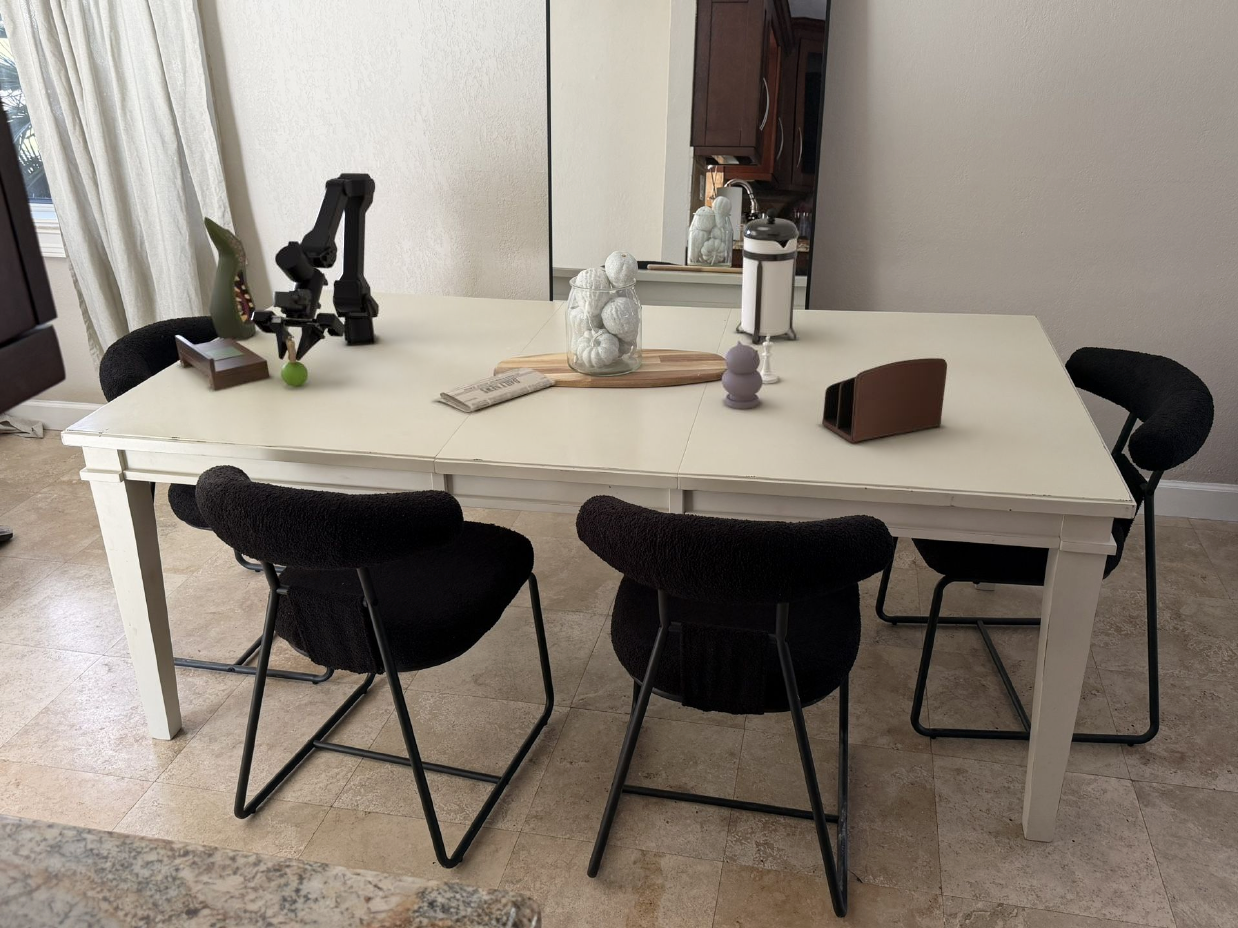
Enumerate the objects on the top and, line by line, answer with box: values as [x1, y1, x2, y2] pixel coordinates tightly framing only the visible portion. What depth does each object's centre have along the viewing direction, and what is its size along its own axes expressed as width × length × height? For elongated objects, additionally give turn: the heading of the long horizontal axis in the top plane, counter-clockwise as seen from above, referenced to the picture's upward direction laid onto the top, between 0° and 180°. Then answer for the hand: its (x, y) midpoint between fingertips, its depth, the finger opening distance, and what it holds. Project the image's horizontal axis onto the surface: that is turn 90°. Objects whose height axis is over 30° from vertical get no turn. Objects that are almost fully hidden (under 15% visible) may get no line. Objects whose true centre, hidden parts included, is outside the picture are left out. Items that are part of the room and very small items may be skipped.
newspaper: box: [435, 366, 556, 413], centre depth 209 cm, size 23×12×2 cm, turn 135°
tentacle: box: [203, 216, 257, 340], centre depth 243 cm, size 9×12×30 cm
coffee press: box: [735, 208, 800, 345], centre depth 237 cm, size 17×16×30 cm
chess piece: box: [759, 334, 779, 385], centre depth 212 cm, size 5×5×10 cm
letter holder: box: [821, 357, 948, 444], centre depth 187 cm, size 10×20×14 cm, turn 113°
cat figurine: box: [721, 340, 764, 410], centre depth 199 cm, size 8×8×12 cm
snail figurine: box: [280, 335, 309, 388], centre depth 212 cm, size 5×6×12 cm
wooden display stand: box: [174, 334, 271, 391], centre depth 223 cm, size 12×22×7 cm, turn 39°
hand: (288, 359), depth 211 cm, fingers closed on snail figurine, 3 cm apart
